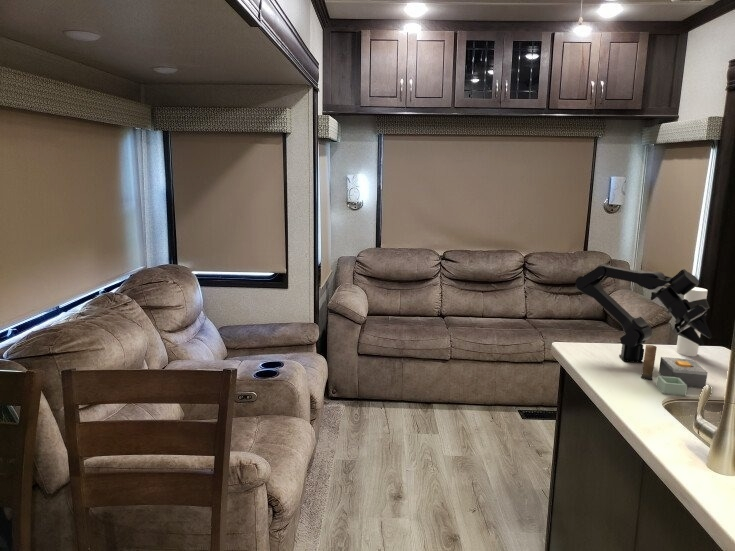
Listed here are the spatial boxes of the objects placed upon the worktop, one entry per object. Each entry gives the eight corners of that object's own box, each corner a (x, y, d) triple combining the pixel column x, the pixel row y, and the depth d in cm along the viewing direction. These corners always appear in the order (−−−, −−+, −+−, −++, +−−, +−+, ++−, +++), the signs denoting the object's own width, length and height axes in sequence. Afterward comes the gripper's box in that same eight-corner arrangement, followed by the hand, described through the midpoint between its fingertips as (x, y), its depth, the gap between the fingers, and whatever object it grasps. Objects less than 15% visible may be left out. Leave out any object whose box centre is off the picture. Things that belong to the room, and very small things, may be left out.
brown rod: (643, 379, 185) (647, 347, 183) (640, 375, 188) (644, 344, 186) (653, 380, 185) (658, 348, 183) (650, 376, 188) (654, 345, 186)
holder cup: (663, 393, 174) (664, 383, 173) (656, 386, 180) (657, 375, 179) (685, 396, 173) (687, 385, 172) (677, 388, 179) (679, 377, 178)
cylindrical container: (699, 353, 214) (709, 289, 209) (694, 357, 209) (705, 292, 204) (678, 348, 219) (688, 286, 214) (673, 352, 214) (683, 288, 209)
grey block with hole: (671, 385, 181) (674, 369, 180) (658, 372, 192) (660, 356, 191) (704, 388, 179) (707, 372, 178) (689, 374, 191) (692, 359, 190)
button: (678, 374, 184) (680, 364, 183) (674, 370, 187) (676, 360, 187) (689, 375, 184) (691, 365, 183) (685, 371, 187) (687, 361, 186)
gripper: (702, 281, 182) (738, 320, 175) (686, 299, 199) (718, 336, 192) (672, 298, 182) (706, 338, 176) (659, 315, 199) (690, 352, 192)
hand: (706, 341), depth 184 cm, fingers open, 9 cm apart
